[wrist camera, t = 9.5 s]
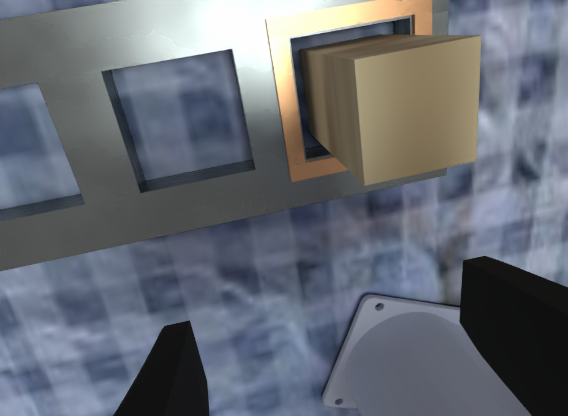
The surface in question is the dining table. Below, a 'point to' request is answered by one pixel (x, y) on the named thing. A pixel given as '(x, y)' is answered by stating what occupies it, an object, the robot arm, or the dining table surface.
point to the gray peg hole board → (116, 136)
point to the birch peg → (394, 102)
